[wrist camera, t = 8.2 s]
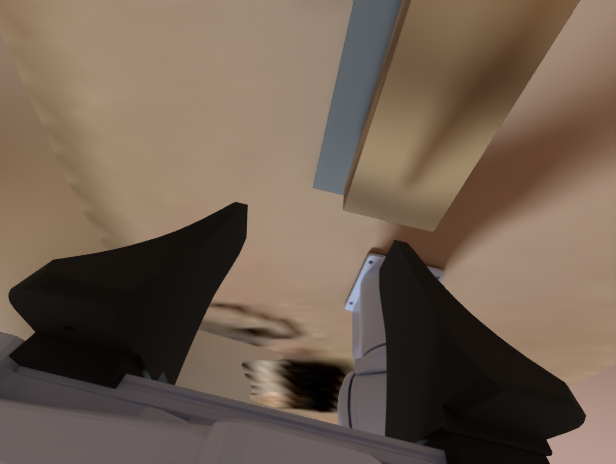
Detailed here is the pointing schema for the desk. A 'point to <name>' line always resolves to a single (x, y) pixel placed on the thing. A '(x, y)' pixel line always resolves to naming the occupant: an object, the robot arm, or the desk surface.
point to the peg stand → (354, 89)
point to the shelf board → (444, 101)
